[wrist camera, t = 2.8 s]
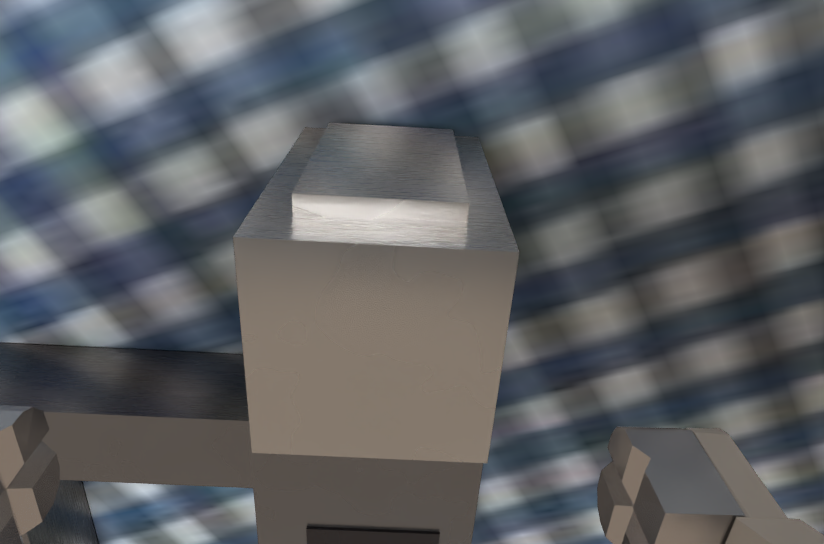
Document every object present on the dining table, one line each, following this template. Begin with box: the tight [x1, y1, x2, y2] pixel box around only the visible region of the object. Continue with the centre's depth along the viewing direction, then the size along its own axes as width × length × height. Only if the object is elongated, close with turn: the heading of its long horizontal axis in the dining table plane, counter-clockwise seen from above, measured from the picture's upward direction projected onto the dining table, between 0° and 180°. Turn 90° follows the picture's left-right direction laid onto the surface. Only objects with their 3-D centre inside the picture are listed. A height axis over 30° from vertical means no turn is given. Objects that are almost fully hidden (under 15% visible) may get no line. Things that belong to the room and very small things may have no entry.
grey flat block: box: [0, 343, 483, 544], centre depth 20 cm, size 20×12×3 cm, turn 87°
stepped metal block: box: [233, 123, 519, 463], centre depth 14 cm, size 4×5×7 cm
